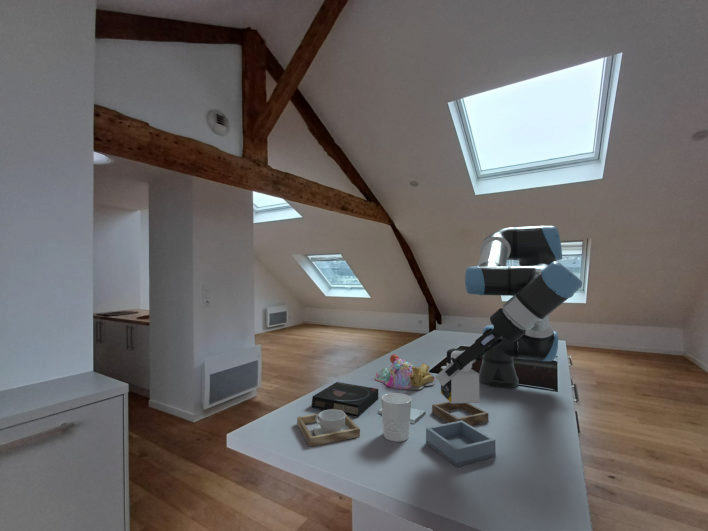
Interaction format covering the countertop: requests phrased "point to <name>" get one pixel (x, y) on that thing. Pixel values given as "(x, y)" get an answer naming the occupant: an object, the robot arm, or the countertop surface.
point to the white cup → (396, 416)
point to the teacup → (330, 422)
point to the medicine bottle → (461, 382)
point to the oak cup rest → (329, 437)
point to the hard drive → (412, 414)
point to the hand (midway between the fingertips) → (447, 376)
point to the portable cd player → (345, 398)
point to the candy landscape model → (405, 375)
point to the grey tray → (460, 443)
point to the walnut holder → (475, 418)
